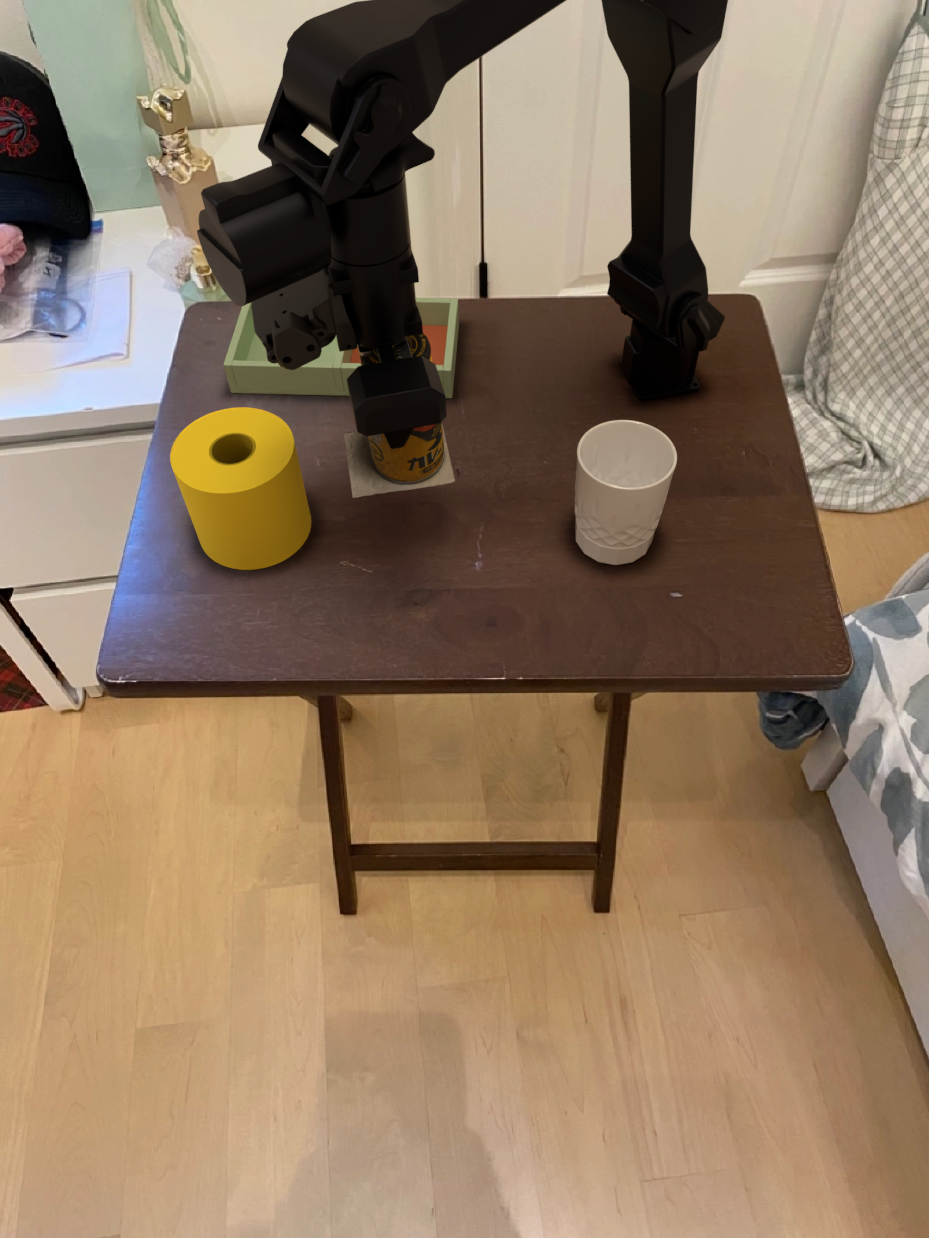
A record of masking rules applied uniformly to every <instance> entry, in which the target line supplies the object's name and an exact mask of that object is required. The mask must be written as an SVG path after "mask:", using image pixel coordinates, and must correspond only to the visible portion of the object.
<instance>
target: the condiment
mask: <svg viewBox="0 0 929 1238" xmlns="http://www.w3.org/2000/svg"><path fill="white" fill-rule="evenodd" d="M406 338H407V341H408V344H409V348H410V351H411V354H412V357H416V356H423V357H425V358H426V359H428V360H430V361H431V362H432V357H431V347H430V343H429V340H428V338H427V337H426V335H424V333H422V334H416V335H410V336H406ZM392 347H393V351H394V354H395V358H396V360H398V358H397V354H396V351H395V347H394V345H393V346H392ZM373 350H374V354H372V355H368V356H361V355H360V359H361V366H363V365H369V364H374V363H380V362H379V358H378V354H377V350H376V348H373ZM343 439H344V447H345V454H346V460H347V466H348V473H349V480H350V481H349V482H350V487H351V494H352V499H355V498H360V497H366V496H374V495H377V494H379V495H380V494H387V493H391V492H401V491H410V490H415V489H416V490H417V489H422V488H429V487H435V486H442V485H447V484H451V483H454V482H456V479H455V474H454V470H453V466H452V462H451V456H450V452H449V448H448V444H447V439H446V434H445V430H444V425H443V421H442V422H441V423H439V424H434V425H428V426H422V427H417V428H414V430H413V431H412V433H411V435H410V437H409V439H408V440H407V442H406V444H405V446H404V447H402V448H396V449H391V448H390V447H389V444H388V442H387V440H386V438H385V436H384V433H383V434H378V435H372V436H365V435H363V434H360V433H358V432H357V431H352V432H347V433H343Z"/></svg>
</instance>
